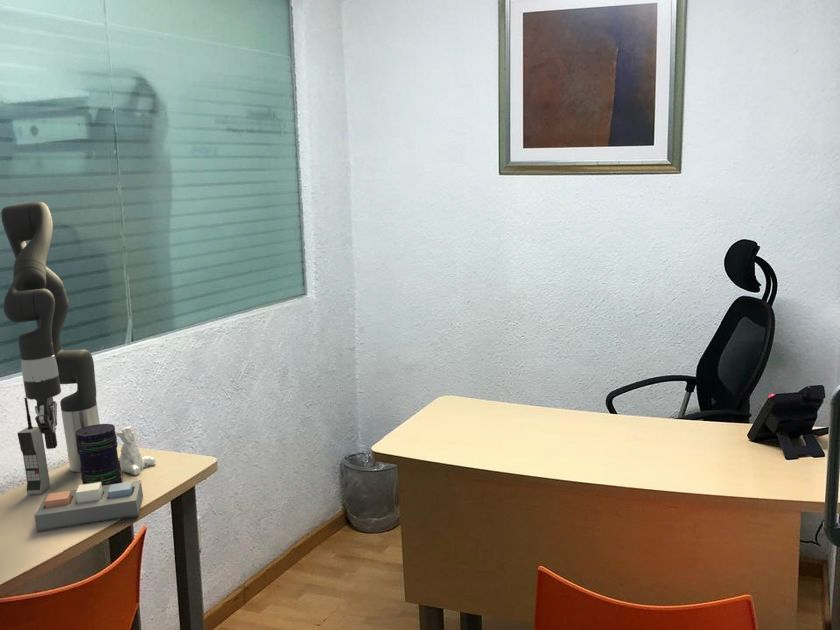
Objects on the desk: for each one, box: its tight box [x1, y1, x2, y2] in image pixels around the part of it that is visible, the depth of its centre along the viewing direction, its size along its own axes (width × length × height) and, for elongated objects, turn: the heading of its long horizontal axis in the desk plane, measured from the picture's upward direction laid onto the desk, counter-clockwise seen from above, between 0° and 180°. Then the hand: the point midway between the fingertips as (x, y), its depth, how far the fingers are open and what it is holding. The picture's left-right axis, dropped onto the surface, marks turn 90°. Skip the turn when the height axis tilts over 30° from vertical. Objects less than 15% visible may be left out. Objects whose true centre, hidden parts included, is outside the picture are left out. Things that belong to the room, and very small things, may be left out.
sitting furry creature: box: [116, 426, 156, 476], centre depth 229 cm, size 10×9×12 cm
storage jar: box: [75, 423, 123, 486], centre depth 219 cm, size 10×10×15 cm
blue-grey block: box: [108, 481, 133, 498], centre depth 202 cm, size 5×5×4 cm
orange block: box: [45, 490, 72, 508], centre depth 199 cm, size 5×5×4 cm
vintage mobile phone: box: [17, 397, 51, 495], centre depth 216 cm, size 4×5×25 cm
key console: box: [34, 479, 144, 533], centre depth 200 cm, size 14×22×4 cm, turn 104°
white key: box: [76, 482, 103, 503], centre depth 200 cm, size 5×5×4 cm
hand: (52, 447), depth 197 cm, fingers closed
